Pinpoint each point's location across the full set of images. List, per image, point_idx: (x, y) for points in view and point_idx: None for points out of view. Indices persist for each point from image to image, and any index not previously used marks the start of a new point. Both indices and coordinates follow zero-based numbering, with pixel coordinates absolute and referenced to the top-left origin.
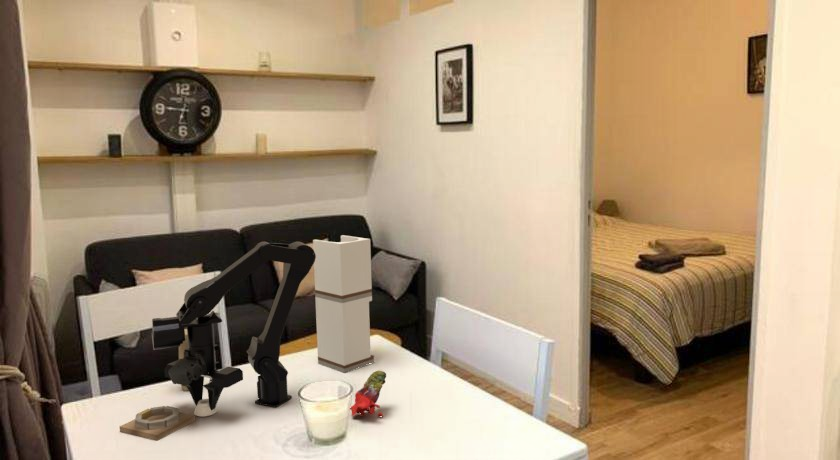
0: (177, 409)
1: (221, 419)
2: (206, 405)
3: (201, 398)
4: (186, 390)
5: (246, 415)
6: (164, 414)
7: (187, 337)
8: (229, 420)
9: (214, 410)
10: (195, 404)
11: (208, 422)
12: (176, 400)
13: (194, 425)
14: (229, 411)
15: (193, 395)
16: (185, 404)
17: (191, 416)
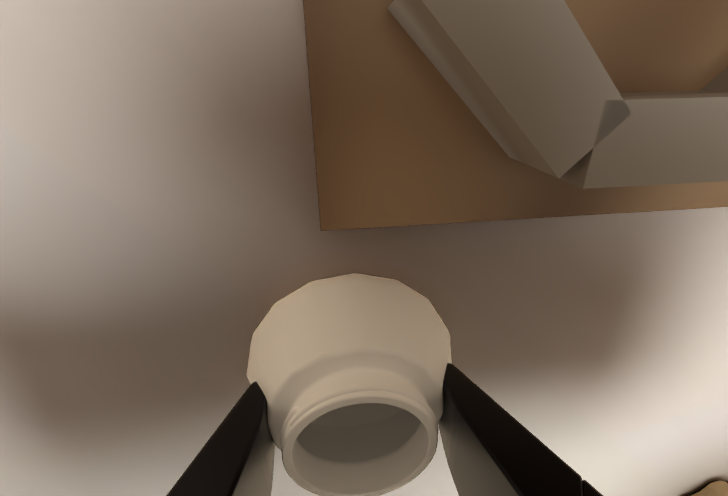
0: (557, 145)
1: (113, 330)
2: (293, 405)
3: (454, 471)
4: (711, 486)
5: (14, 456)
6: (697, 87)
7: None
8: (25, 347)
9: None
10: (467, 380)
11: (156, 234)
12: (714, 389)
13: (219, 110)
14: None
15: (525, 477)
16: (616, 378)
17: (331, 190)
